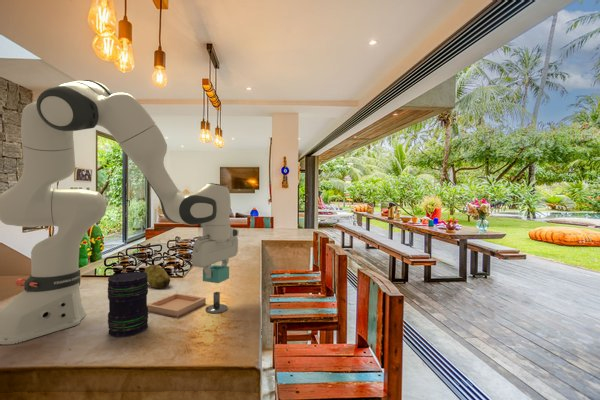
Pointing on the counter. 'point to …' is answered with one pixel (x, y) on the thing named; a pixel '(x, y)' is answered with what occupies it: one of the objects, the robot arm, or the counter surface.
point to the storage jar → (127, 304)
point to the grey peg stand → (216, 305)
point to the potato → (157, 276)
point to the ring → (217, 274)
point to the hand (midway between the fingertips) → (216, 274)
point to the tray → (176, 305)
